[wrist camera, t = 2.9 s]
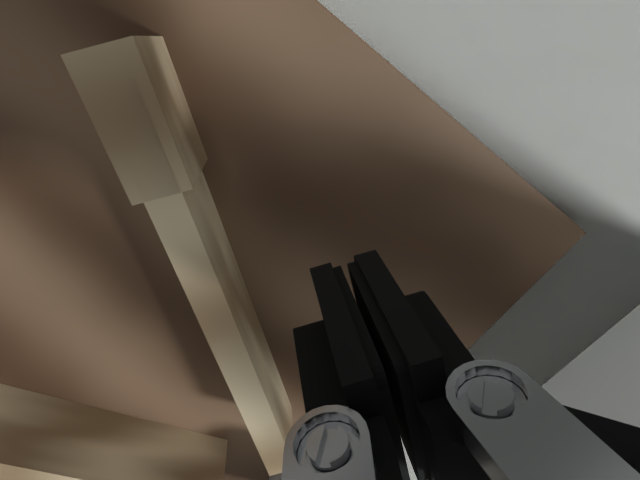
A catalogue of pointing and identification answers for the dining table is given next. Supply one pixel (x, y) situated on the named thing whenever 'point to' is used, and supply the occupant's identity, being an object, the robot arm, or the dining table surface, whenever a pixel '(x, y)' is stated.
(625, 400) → the milk
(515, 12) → the dining table surface
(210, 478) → the beige long slender part
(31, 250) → the board
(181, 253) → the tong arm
